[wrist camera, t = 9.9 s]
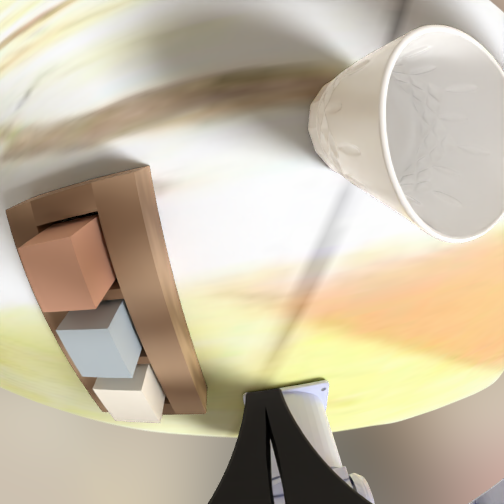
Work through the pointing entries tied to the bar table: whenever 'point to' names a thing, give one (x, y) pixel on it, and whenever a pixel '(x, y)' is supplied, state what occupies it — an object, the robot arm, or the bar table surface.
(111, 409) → the off-white cube
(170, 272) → the wooden tray
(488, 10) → the bar table surface
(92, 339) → the light blue cube
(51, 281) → the salmon orange cube
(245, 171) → the bar table surface
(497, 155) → the white cup
